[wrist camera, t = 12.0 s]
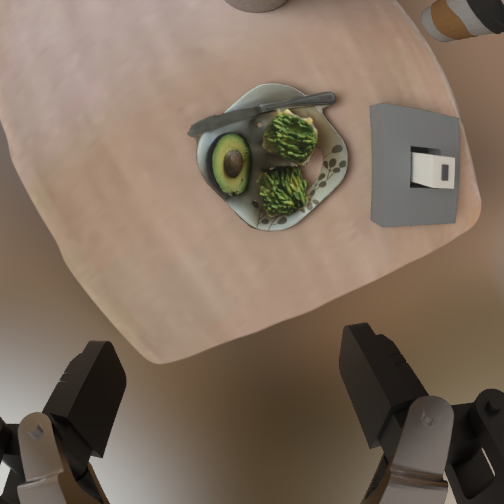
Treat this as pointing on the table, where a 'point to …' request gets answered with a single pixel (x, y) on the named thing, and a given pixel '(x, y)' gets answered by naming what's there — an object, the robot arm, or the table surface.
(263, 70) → the table surface
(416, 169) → the block
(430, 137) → the outlet box
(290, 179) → the avocado toast plate
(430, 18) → the coffee cup
